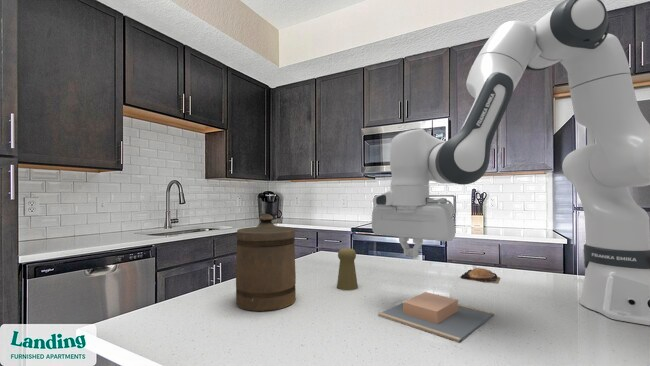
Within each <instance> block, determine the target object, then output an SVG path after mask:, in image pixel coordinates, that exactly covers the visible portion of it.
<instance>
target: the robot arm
mask: <svg viewBox="0 0 650 366" xmlns="http://www.w3.org/2000/svg"><path fill="white" fill-rule="evenodd" d="M609 31H610V21H609V14H608V11H607V8H606V6H605V4H604V3H603V1H602V0H563V1H561V2H560V3H558V4H557V5H556V6H555V7H554V8H552V9H551V10H549V11H548V12H546V14H544V15H543V16H542V17H541V18H540V19H538V20H537V21H535V23H534V24H533V25H531V24H529V23H528V22H526V21H523V20H515V19H514V20H509V21H506V22H503V23H502V24H500V25H499V26H498V27H497V28H496V29H495V31H494V32H492V34H491V35H490V36H489V38H488V39H487V40H486V42H485V44H484V45H483V47H482V48H481V50H480V51H479V53H478V55H477V56H476V57H475V60H474V62H473V64H472V65H471V67H470V69H469V72H468V75H467V79H466V82H465V86H466V89H467V91H468V94H469V95H471V97H472V98H473V99H474V102H473V104H472V106H471V108H470V110H469V112H468V114H467V116H466V118H465V121H464V122H463V124H462V126H461V128H460V130H458V132H457V133H456V134H455V135H453V136H452V137H451V138H449V139H448V140H442V139H440V138H438V137H436V136H433V135H431V134H429V133H428V132H427V131H426V130H425V129H423V128H419V127H416V128H410V129H406V130H404V131H400V132H398V133H396V135H394V136H393V138H392V139H391V142H390V148H389V149H390V150H389V169H390V173H391V181H390V190H388V191H386V192H384V193H381V194H378V195H376V196H373V199H372V204H373V205H374V207H373V208H372V212H371V230H372V232H373V233H374V235H380V236H388V237H389V236H390V237H398V242H399V244H400V246H401V247H402V249H403V256H404V257H408V258H414V259H417V258H419V256H420V255H419V251H420V248H421V247H422V246H423V245H422V244H423V243H424V240H427V241H428V240H429V241H438V242H450V241H452V240H454V239H455V237H456V226H455V225H456V224H455V220H454V215H455V214H454V213H455V212H454V204H453V202H452V201H450V200H448V199H447V198H446V197H441V198H439V197H438V198H435V197H430V182H436V183H437V184H438V183H439V184H456V185H464V186H465V185H470V184H473V183H475V182H477V181H479V180H480V179H481V178H482V177H483V176H485V174H486V172H487V171H488V168H489V166H490V165H489V164H490V160H491V149H492V148H491V147H492V142H493V140H494V136H495V134H496V132H497V130H498V129H499V126H500V124H501V121H502V119H503V116H504V114H505V112H506V110H507V108H508V105H509V103H510V101H511V98H512V95H513V92H514V90H515V89H516V87H517V86H518V84H519V82H520V80H521V79H522V77H523V74H524V73H525V72H528V73H536V72H540V71H543V70H546V69H548V68H550V67H551V66H554V65H555V64H557V63H560V64H561V65H562V66H563V67H564V68H565V70H566V72H567V81H568V87H569V94H570V99H571V104H572V110H573V114H574V115H573V116H574V119H575V121H576V123H578V124H579V125H581V126H583V127H585V128H586V129H587V130H588V132H590V134H591V135H592V137H593V139H594V140H595V143H589V144H585V145H583V146H580V147H579V148H576V149H574V150H573V151H570V152H569V153H568V154H567V155H566V156H565V158H564V159H563V161H562V166H561V167H562V169H561V170H562V173H563V176H564V177H565V178H566V180H567V181H569V182H570V183H571V184H572V185H573V187H574V188H575V190H576V192H577V194H578V197H579V200H580V203H581V207H582V210H583V214H584V228H585V231H584V232H585V244H584V245H583V248H582V250H583V251H582V254H583V255H582V256H583V259H582V260H583V265H584V268H585V270H584V272H585V273H584V281H583V286H582V289H581V290H582V291H581V293H580V296H579V299H578V302H579V304H580V305H582V306H584V307H585V308H587V309H589V310H592V311H594V312H598V313H600V314H602V315H604V316H605V317H606V318H609V319H612V320H616V321H621V322H628V323H632V324H633V323H634V324H639V325H646V326H650V216H649V214H648V213H647V211H646V210H645V209H644V208H642V207H641V206H640V205H638V203H637V202H636V201H635V200H634V198H633V197H632V194H631V192H630V187H631V188H634V187H637V188H639V187H647V186H650V123H649V121H648V120H647V119H646V117H645V116H644V114H643V113H642V111H641V109H640V107H639V104H638V100H637V96H636V93H635V88H634V84H633V79H632V74H631V68H630V65H629V61H628V58H627V55H626V52H625V51H624V48H623V46H622V44H621V42H620V40H619V38H618V37H617V36H616V35H614V34H612V33H609ZM410 239H412V243H413V244H414V246H412V248H411V247H410V245H409V243H408V242H409V240H410Z"/></svg>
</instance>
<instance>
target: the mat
mask: <svg viewBox="0 0 650 366" xmlns="http://www.w3.org/2000/svg"><path fill="white" fill-rule="evenodd" d="M377 315H378V317H381V318H384V319H387V320H391V321H393V322H397V323H399V324H403V325H406V326H408V327H411V328H414V329H417V330H421V331H424V332H427V333H430V334H433V335H435V336H439V337H442V338H444V339H448V340H451V341H454V342H456V343H461V342H462V341H464V340H465V339H466V338H468V336H469V335H471V334H472V333H474V331H476V330H477V329H478V328H480V327H481V326H482V325H483V324H484V323H486V322H487V321H489V320H490V319H491V318H492V317H493V316H495V313H494V312H492V311H488V310H485V309H480V308H476V307H472V306H467V305H464V304H459V303H458V311H457V312H456V313H454V314H452V315H451V316H449V317H448V318H446V319H444V320H443V321H441V322H440V323H438V324H436V323H433V322H429V321H426V320H423V319H420V318H416V317H413V316H410V315H407V314H403V302H401V303H399V304H397V305H395V306H392V307H389V308H388V309H386V310H383V311H382V312H378V314H377Z"/></svg>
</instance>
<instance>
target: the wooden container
mask: <svg viewBox="0 0 650 366" xmlns="http://www.w3.org/2000/svg"><path fill="white" fill-rule="evenodd" d="M273 220H274V216H273V215H271V214H270V213H262V214H261V215H259V221H260V222H259V224H258V225H256V226H253V227H251V226H250V227H243V228H239V229H237V231H236V260H235V261H236V263H235V296H236V297H235V304H236V305H237V307H239V308H240V309H243V310H246V311H252V312H269V311H276V310H280V309H284V308H286V307H289V306H291V305H292V304H294V303H295V302H296V296H297V295H296V291H297V290H296V288H297V287H296V281H297V279H296V277H297V276H296V274H297V273H296V254H295V253H296V251H295V248H296V247H295V239H296V238H295V237H296V233H295V232H296V231H295V228H293V227H289V226H276V225H275V224H274V223H273Z"/></svg>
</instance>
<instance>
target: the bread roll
mask: <svg viewBox="0 0 650 366" xmlns="http://www.w3.org/2000/svg"><path fill="white" fill-rule="evenodd" d="M460 279H461V280H466V281H472V282H473V281H474V282H481V283H488V284H498V285H499V282H500V280H501V277H500V276H498V275H497V274H496V272H494V271H491V270H489V269H486V268H480V267H475V268H473V269H469V270H467V271H466V272H464V274H461V275H460Z"/></svg>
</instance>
